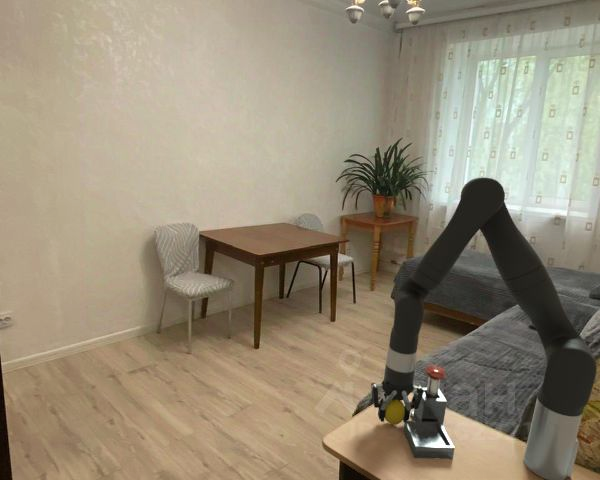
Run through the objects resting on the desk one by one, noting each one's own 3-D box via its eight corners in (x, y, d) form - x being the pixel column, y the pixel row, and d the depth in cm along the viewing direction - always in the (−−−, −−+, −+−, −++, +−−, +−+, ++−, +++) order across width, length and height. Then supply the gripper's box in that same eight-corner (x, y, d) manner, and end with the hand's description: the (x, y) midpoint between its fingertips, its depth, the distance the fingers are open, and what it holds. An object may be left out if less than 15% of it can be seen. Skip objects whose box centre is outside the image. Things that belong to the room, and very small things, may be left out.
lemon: (390, 415, 118) (394, 390, 116) (407, 426, 114) (410, 400, 112) (377, 422, 114) (381, 396, 113) (393, 433, 110) (397, 407, 108)
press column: (435, 415, 119) (439, 387, 117) (444, 432, 112) (449, 402, 110) (410, 414, 119) (415, 386, 117) (418, 431, 112) (423, 401, 110)
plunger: (436, 398, 117) (441, 365, 115) (442, 410, 112) (448, 375, 110) (418, 398, 117) (423, 364, 114) (424, 409, 112) (429, 374, 109)
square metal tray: (438, 432, 112) (440, 422, 111) (452, 459, 103) (454, 447, 102) (403, 431, 112) (404, 420, 111) (414, 457, 102) (415, 446, 102)
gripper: (422, 357, 114) (414, 412, 118) (370, 355, 113) (363, 410, 117) (432, 372, 107) (423, 430, 111) (376, 370, 106) (369, 428, 110)
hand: (392, 420), depth 114 cm, fingers closed on lemon, 5 cm apart
